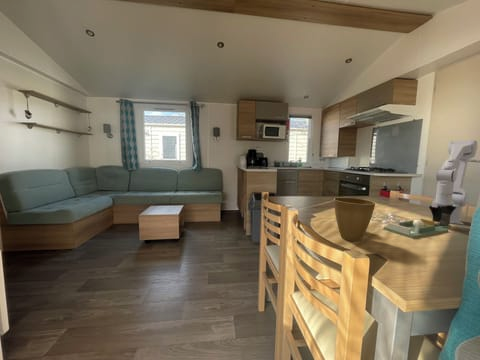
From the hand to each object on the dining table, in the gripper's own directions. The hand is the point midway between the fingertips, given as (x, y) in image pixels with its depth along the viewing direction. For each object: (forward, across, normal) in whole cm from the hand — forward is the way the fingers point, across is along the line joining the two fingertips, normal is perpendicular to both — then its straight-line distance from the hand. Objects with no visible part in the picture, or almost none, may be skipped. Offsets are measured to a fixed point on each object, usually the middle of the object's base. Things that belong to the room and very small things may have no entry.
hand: (441, 220), depth 102 cm
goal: (+3, +30, 0) cm, 30 cm away
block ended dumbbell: (+2, +5, 0) cm, 5 cm away
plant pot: (+3, +57, -3) cm, 58 cm away
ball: (0, +18, 0) cm, 18 cm away
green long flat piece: (+3, +15, 0) cm, 16 cm away
